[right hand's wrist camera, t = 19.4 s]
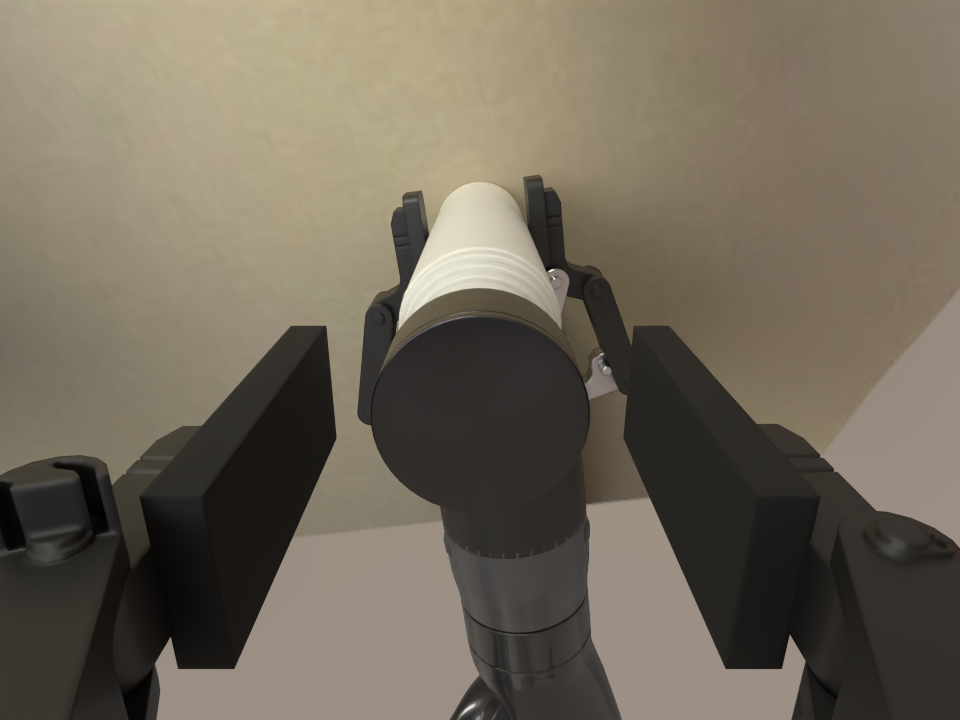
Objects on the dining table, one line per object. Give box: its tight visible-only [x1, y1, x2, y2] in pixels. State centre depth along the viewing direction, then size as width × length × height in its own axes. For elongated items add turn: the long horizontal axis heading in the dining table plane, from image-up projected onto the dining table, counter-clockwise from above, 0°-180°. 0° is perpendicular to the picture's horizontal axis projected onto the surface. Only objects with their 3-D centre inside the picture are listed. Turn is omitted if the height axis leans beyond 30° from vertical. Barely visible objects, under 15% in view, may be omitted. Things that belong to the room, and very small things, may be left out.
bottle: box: [399, 182, 562, 330], centre depth 24 cm, size 5×5×23 cm
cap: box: [370, 288, 590, 513], centre depth 13 cm, size 4×4×2 cm
